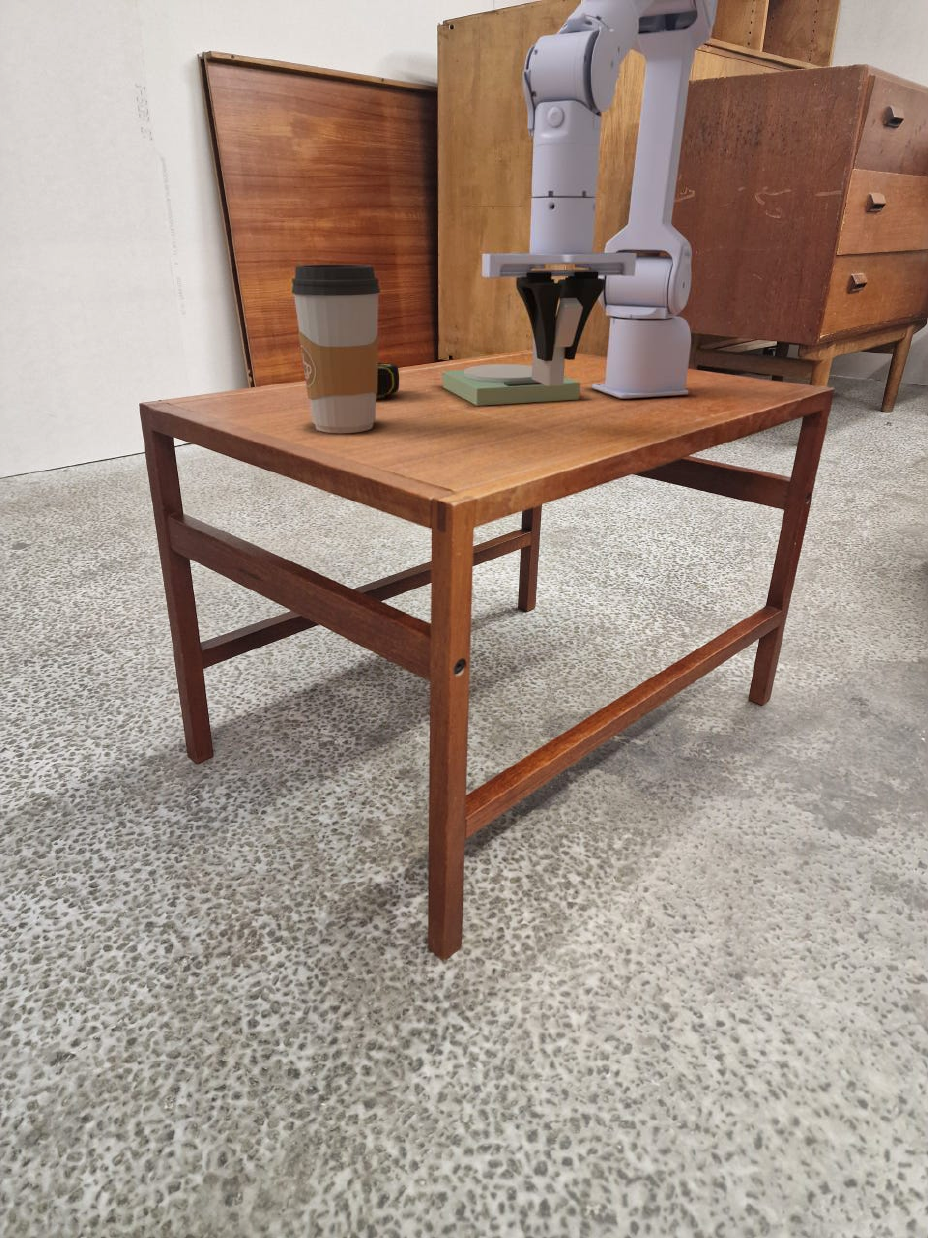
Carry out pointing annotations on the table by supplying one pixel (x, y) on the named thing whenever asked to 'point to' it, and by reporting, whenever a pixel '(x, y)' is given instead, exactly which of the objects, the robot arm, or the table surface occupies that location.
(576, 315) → the lighter
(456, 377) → the scale
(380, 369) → the tape measure
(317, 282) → the coffee cup
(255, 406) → the table surface
